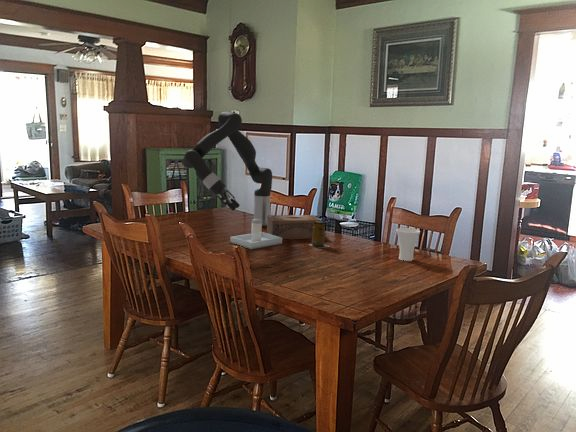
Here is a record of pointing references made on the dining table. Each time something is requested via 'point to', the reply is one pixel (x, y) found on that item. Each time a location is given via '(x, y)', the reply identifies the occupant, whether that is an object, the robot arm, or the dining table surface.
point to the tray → (265, 241)
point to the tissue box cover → (291, 226)
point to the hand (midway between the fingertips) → (236, 208)
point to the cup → (407, 242)
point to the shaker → (256, 230)
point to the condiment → (318, 235)
